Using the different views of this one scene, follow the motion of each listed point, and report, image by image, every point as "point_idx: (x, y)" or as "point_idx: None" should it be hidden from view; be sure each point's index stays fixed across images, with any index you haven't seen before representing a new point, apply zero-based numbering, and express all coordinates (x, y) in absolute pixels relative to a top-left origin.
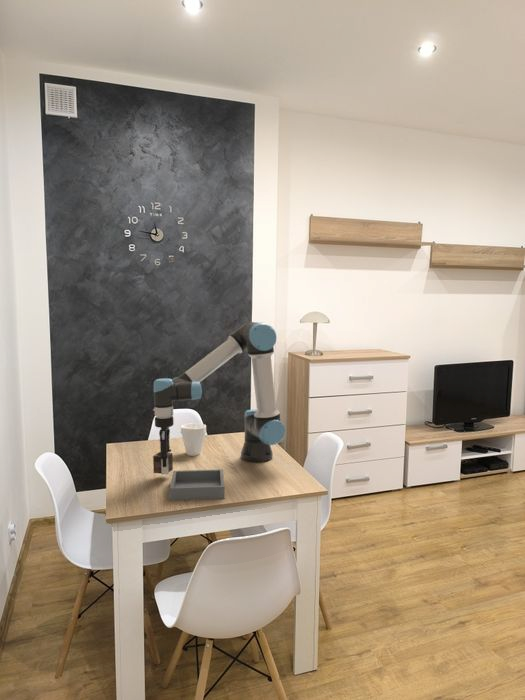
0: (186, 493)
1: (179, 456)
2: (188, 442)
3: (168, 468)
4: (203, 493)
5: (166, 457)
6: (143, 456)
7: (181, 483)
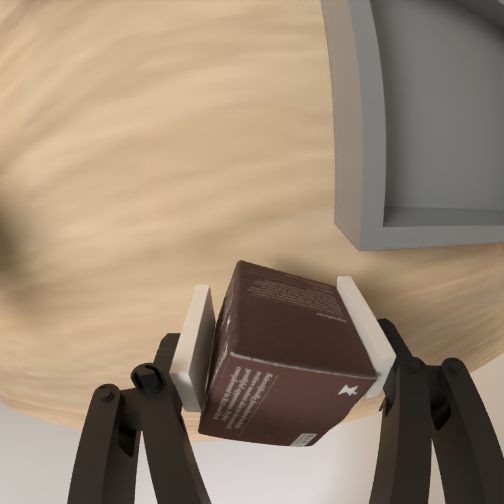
0: None
1: None
2: None
3: (318, 295)
4: None
5: (463, 366)
6: (26, 367)
7: (395, 173)
